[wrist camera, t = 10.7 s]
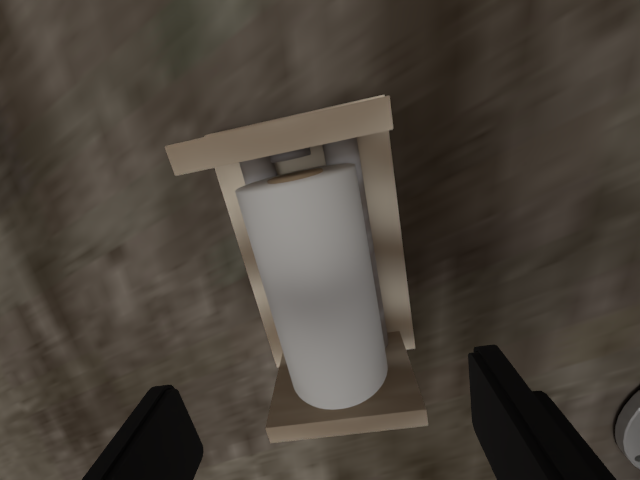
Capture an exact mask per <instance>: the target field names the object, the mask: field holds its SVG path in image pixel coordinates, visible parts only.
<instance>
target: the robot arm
mask: <svg viewBox="0 0 640 480" xmlns="http://www.w3.org/2000/svg"><path fill="white" fill-rule="evenodd" d="M468 360H469V377H470V394H471V411H472V423H473V427H474V430H475V433H476V435H477V437H478V439H479V442H480V444H481V446H482V448H483V450H484V452H485V454H486V457H487V459H488V461H489V463H490V465H491V467H492V470H493V472H494V474H495V476H496V478H497V480H616V479H615V477H614V476H613V475H612V474H611V473H610V471H609V470H608V469H607V468H606V466H605V465H604V464H603V463H602V461H601V460H600V459H599V458H598V456H597V455H596V454H595V453H594V452H593V450H592V449H591V448H590V447H589V445H588V444H587V443H586V442H585V440H584V439H583V438H582V437H581V436H580V434H579V433H578V432H577V431H576V429H575V428H574V427H573V426H572V424H571V423H570V422H569V421H568V419H567V418H566V417H565V416H564V415H563V413H562V412H561V411H560V410H559V408H558V407H557V406H556V405H555V403H554V402H553V401H552V400H551V399H550V398H549V397H548V395H547V394H545V393H544V392H542V391H531V390H530V388H529V387H528V386H527V384H526V383H525V382H524V380H523V379H522V378H521V376H520V375H519V374H518V372H517V371H516V370H515V368H514V367H513V366H512V365H511V363H510V362H509V361H508V359H507V358H506V357H505V355H504V354H503V353H502V351H501V350H500V349H499V348H498V346H497V345H487V346H479V347H474V353H469V354H468ZM615 438H616V442H617V445H618V447H619V449H620V450H621V452H622V453H623V454H624V455H625V456H626V457H627V458H628V459H629V461H630V462H631V463H632V464H633V465H634V466H635V467H637V468H638V469H640V390H639V391H638V392H636V393H635V394H634V395H633V396H632V397H631V398H630V400H629V401H628V402H627V403H626V404H625V406H624V407H623V409H622V411H621V412H620V414H619V416H618V419H617V423H616V426H615ZM202 457H203V445H202V443H201V441H200V438H199V436H198V434H197V432H196V429H195V427H194V425H193V423H192V420H191V418H190V416H189V414H188V411H187V409H186V407H185V405H184V403H183V400H182V398H181V396H180V394H179V391H178V390H177V389H175V388H174V387H173V386H172V385H163V386H155V387H152V388H151V389H150V390H149V391H148V392H147V393H146V395H145V396H144V397H143V399H142V400H141V401H140V403H139V404H138V405H137V407H136V408H135V409H134V411H133V412H132V413H131V415H130V416H129V417H128V419H127V420H126V421H125V423H124V424H123V425H122V427H121V428H120V429H119V431H118V432H117V433H116V435H115V436H114V437H113V439H112V440H111V441H110V443H109V444H108V445H107V447H106V448H105V449H104V451H103V452H102V453H101V455H100V456H99V457H98V459H97V460H96V461H95V463H94V464H93V465H92V467H91V468H90V469H89V471H88V472H87V473H86V475H85V476H84V477H83V479H82V480H193V479H194V476H195V474H196V471H197V469H198V467H199V464H200V462H201V460H202Z"/></svg>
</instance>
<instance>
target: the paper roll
mask: <svg viewBox="0 0 640 480" xmlns="http://www.w3.org/2000/svg"><path fill="white" fill-rule="evenodd" d="M235 193H236V196H237V199H238V203H239V206H240V209H241V213H242V216H243V220H244V223H245V226H246V230H247V233H248V236H249V240H250V243H251V246H252V250H253V253H254V256H255V260H256V263H257V266H258V270H259V273H260V277H261V280H262V283H263V287H264V290H265V293H266V297H267V300H268V303H269V307H270V310H271V313H272V317H273V320H274V323H275V327H276V330H277V334H278V337H279V340H280V344H281V347H282V350H283V354H284V357H285V360H286V364H287V367H288V370H289V374H290V377H291V380H292V384H293V387H294V390H295V392H296V393H297V395H298V396H299V397H300V398H301V399H302V400H303V401H305V402H306V403H308V404H310V405H312V406H314V407H317V408H322V409H330V410H335V409H344V408H349V407H352V406H355V405H358V404H360V403H362V402H364V401H366V400H367V399H369V398H370V397H371V396H373V395H374V394H375V393H376V392H377V391H378V390H379V389H380V387H381V386H382V384H383V383H384V381H385V378H386V376H387V371H388V364H387V358H386V352H385V345H384V339H383V333H382V327H381V321H380V315H379V308H378V302H377V296H376V290H375V284H374V278H373V271H372V265H371V259H370V253H369V247H368V241H367V234H366V228H365V222H364V216H363V210H362V204H361V198H360V191H359V185H358V179H357V173H356V167H355V164H351V163H344V164H334V165H326V166H320V167H314V168H309V169H304V170H299V171H294V172H290V173H285V174H281V175H277V176H273V177H270V178H266V179H263V180H259V181H256V182H253V183H250V184H247V185H245V186H242V187H240V188H238V189H237V190H235Z"/></svg>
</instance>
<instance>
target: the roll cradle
mask: <svg viewBox="0 0 640 480" xmlns="http://www.w3.org/2000/svg"><path fill="white" fill-rule="evenodd" d="M389 130H393V121H392V112H391V104H390V95H389V96H384V95H380V96H376V97H371V98H367V99H362V100H358V101H354V102H349V103H345V104H340V105H336V106H332V107H327V108H323V109H318V110H314V111H309V112H305V113H301V114H296V115H292V116H287V117H283V118H279V119H274V120H270V121H265V122H261V123H257V124H252V125H248V126H243V127H239V128H234V129H230V130H226V131H221V132H217V133H212V134H208V135H204V136H205V137H203V138H199V139H195V140H190V141H186V142H181V143H177V144H172V145H168V146H165V149H166V152H167V155H168V158H169V160H170V163H171V166H172V169H173V172H174V174H175V176H178V175H182V174H187V173H192V172H196V171H201V170H206V169H210V168H215V171H216V174H217V177H218V180H219V184H220V187H221V190H222V193H223V196H224V200H225V203H226V206H227V209H228V212H229V216H230V219H231V222H232V225H233V228H234V232H235V235H236V238H237V241H238V244H239V248H240V251H241V254H242V257H243V260H244V264H245V267H246V270H247V273H248V276H249V280H250V283H251V286H252V289H253V292H254V296H255V299H256V302H257V305H258V308H259V312H260V315H261V318H262V321H263V324H264V328H265V331H266V334H267V337H268V340H269V344H270V347H271V350H272V353H273V356H274V360H275V363H276V366H277V367H279V370H278V375H277V379H276V384H275V388H274V392H273V397H272V401H271V406H270V410H269V414H268V419H267V423H266V428H265V429H266V431H267V434H268V437H269V440H270V443H277V442H286V441H295V440H304V439H313V438H322V437H331V436H340V435H349V434H358V433H367V432H376V431H385V430H394V429H403V428H412V427H421V426H428V419H427V411H426V407H425V404H424V401H423V398H422V395H421V392H420V389H419V387H418V384H417V381H416V378H415V375H414V372H413V369H412V366H411V363H410V360H409V357H408V354H407V351H406V350H408V349H415V341H414V333H413V325H412V317H411V309H410V300H409V292H408V284H407V276H406V268H405V260H404V251H403V243H402V235H401V227H400V219H399V210H398V202H397V194H396V186H395V178H394V170H393V161H392V153H391V145H390V137H389ZM344 163H351V164H355V167H356V173H357V179H358V185H359V191H360V198H361V204H362V210H363V216H364V222H365V228H366V234H367V241H368V247H369V253H370V259H371V265H372V271H373V278H374V284H375V290H376V296H377V302H378V308H379V315H380V321H381V327H382V333H383V339H384V345H385V352H386V358H387V364H388V371H387V376H386V378H385V381H384V383H383V384H382V386H381V387H380V389H379V390H378V391H377V392H376V393H375V394H374V395H373V396H371V397H370V398H369V399H367V400H366V401H364V402H362V403H360V404H358V405H355V406H352V407H349V408H344V409H335V410H330V409H322V408H317V407H314V406H312V405H310V404H308V403H306V402H305V401H303V400H302V399H301V398H300V397H299V396H298V395H297V393H296V392H295V390H294V387H293V384H292V380H291V377H290V374H289V370H288V367H287V364H286V360H285V357H284V354H283V350H282V347H281V344H280V340H279V337H278V334H277V330H276V327H275V323H274V320H273V317H272V313H271V310H270V307H269V303H268V300H267V297H266V293H265V290H264V287H263V283H262V280H261V277H260V273H259V270H258V266H257V263H256V260H255V256H254V253H253V250H252V246H251V243H250V240H249V236H248V233H247V230H246V226H245V223H244V220H243V216H242V213H241V209H240V206H239V203H238V199H237V196H236V193H235V190H237V189H238V188H240V187H242V186H245V185H247V184H250V183H253V182H256V181H259V180H263V179H266V178H270V177H273V176H277V175H281V174H285V173H290V172H294V171H299V170H304V169H309V168H314V167H320V166H326V165H334V164H344Z"/></svg>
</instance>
